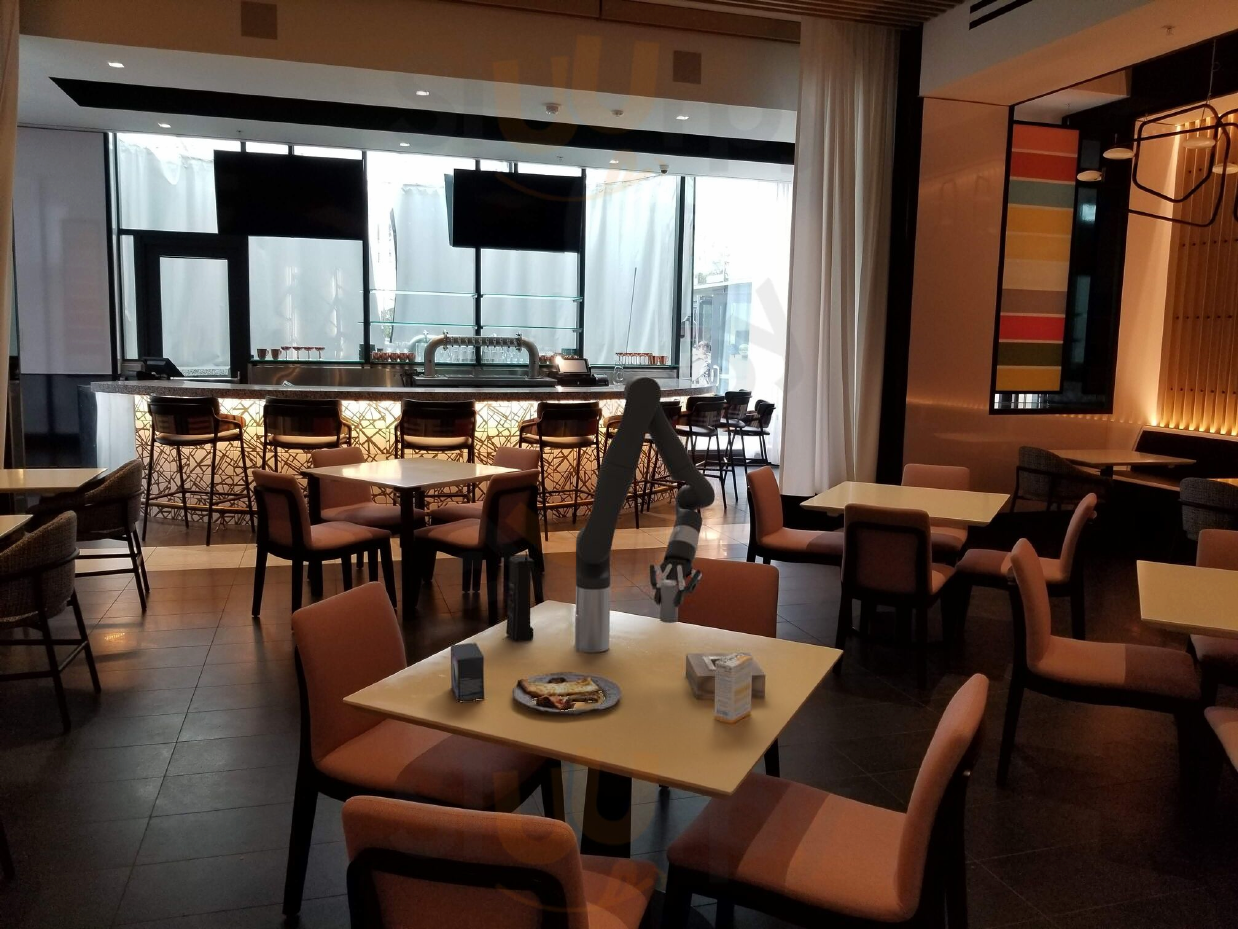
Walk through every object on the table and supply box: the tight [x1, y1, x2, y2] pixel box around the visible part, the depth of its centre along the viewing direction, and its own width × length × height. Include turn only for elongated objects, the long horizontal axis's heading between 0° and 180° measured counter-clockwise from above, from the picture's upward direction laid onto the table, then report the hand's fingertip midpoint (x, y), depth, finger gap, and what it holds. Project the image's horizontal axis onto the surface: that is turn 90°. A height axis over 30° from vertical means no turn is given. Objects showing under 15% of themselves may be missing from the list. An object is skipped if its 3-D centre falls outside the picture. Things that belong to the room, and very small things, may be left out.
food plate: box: [512, 671, 622, 715], centre depth 207 cm, size 25×23×4 cm
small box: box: [450, 642, 485, 703], centre depth 208 cm, size 11×6×10 cm, turn 19°
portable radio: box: [505, 550, 535, 643], centre depth 250 cm, size 8×6×25 cm
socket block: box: [685, 652, 766, 700], centre depth 216 cm, size 16×16×6 cm
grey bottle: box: [659, 580, 679, 624], centre depth 224 cm, size 4×4×10 cm
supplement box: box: [713, 652, 753, 725], centre depth 197 cm, size 8×5×13 cm, turn 141°
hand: (667, 604), depth 222 cm, fingers closed on grey bottle, 4 cm apart
